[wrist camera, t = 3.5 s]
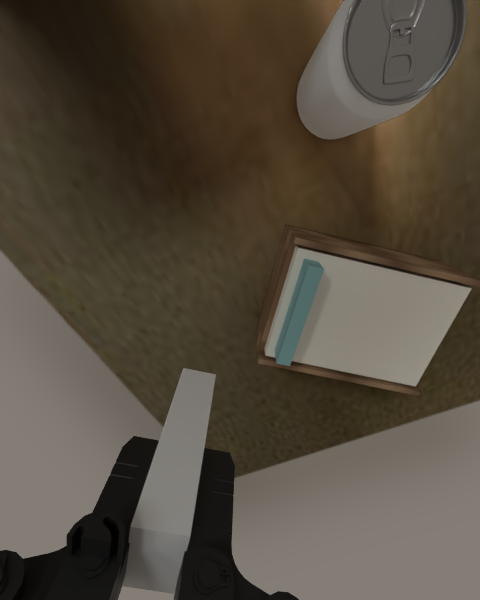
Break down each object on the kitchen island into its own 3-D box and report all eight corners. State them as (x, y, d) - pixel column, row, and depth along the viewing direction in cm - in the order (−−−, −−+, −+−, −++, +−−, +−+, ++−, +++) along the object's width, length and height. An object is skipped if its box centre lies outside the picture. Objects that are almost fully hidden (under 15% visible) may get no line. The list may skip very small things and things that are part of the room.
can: (375, 42, 23) (490, -77, 12) (371, 135, 26) (464, 105, 15) (293, 55, 24) (333, -48, 13) (297, 145, 26) (333, 123, 15)
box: (255, 329, 34) (258, 363, 28) (285, 224, 29) (295, 237, 23) (388, 357, 35) (418, 396, 29) (437, 260, 30) (485, 282, 24)
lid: (264, 348, 29) (266, 368, 26) (296, 244, 25) (302, 254, 22) (409, 378, 30) (427, 401, 27) (462, 283, 26) (490, 297, 23)
